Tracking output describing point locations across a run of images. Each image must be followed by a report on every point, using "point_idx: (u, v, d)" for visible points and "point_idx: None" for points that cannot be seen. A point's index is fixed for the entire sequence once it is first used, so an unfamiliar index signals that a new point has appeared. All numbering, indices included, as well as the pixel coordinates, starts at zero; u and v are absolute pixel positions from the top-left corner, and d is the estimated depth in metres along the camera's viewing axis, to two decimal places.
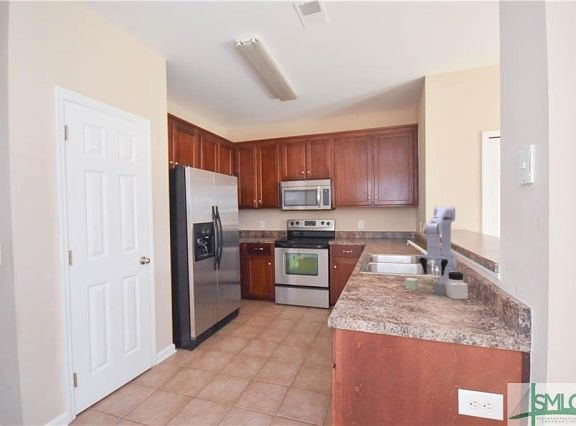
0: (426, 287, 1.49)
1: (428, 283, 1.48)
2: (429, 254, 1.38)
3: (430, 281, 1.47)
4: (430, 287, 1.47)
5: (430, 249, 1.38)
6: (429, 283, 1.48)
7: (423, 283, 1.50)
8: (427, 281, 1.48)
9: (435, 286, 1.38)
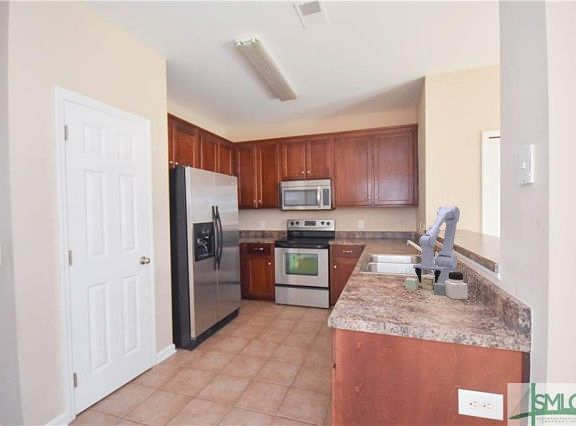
0: (426, 287, 1.49)
1: (428, 283, 1.48)
2: (423, 264, 1.49)
3: (430, 281, 1.47)
4: (430, 287, 1.47)
5: (424, 260, 1.49)
6: (429, 283, 1.48)
7: (423, 283, 1.50)
8: (427, 281, 1.48)
9: (435, 286, 1.38)
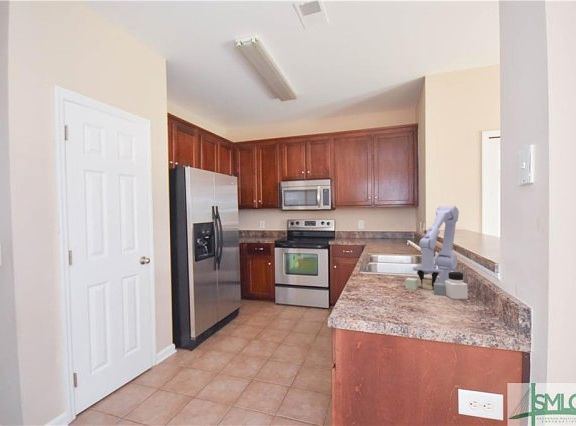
0: (426, 287, 1.49)
1: (428, 283, 1.48)
2: (423, 267, 1.49)
3: (430, 281, 1.47)
4: (430, 287, 1.47)
5: (424, 262, 1.49)
6: (429, 283, 1.48)
7: (423, 283, 1.50)
8: (427, 281, 1.48)
9: (435, 286, 1.38)
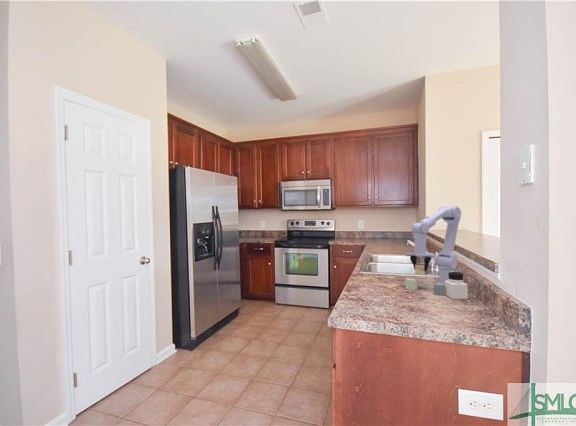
0: (419, 272, 1.49)
1: (421, 268, 1.48)
2: (416, 252, 1.49)
3: (422, 266, 1.47)
4: (422, 272, 1.47)
5: (417, 247, 1.49)
6: (421, 268, 1.48)
7: (416, 268, 1.50)
8: (420, 266, 1.48)
9: (435, 286, 1.38)
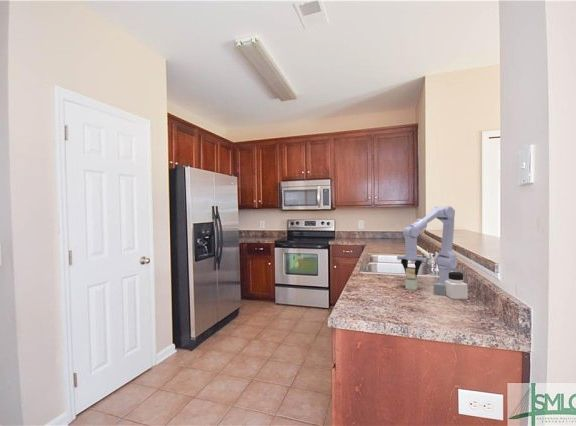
0: (409, 276, 1.49)
1: (411, 272, 1.48)
2: (407, 255, 1.50)
3: (413, 270, 1.48)
4: (413, 276, 1.48)
5: (408, 251, 1.49)
6: (412, 272, 1.48)
7: (406, 272, 1.50)
8: (410, 270, 1.49)
9: (435, 286, 1.38)
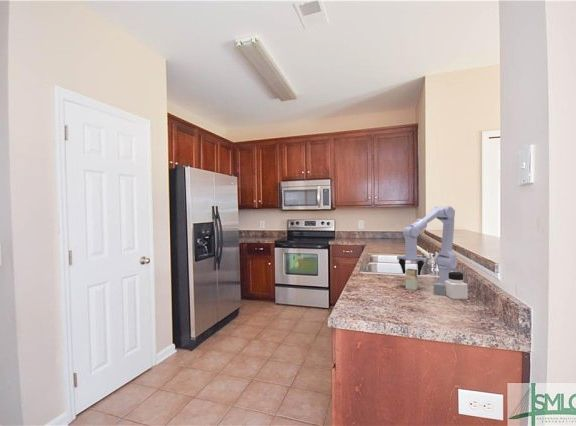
0: (409, 278, 1.49)
1: (411, 273, 1.48)
2: (407, 255, 1.50)
3: (413, 271, 1.48)
4: (413, 277, 1.48)
5: (408, 251, 1.49)
6: (412, 273, 1.48)
7: (406, 274, 1.50)
8: (410, 272, 1.49)
9: (435, 286, 1.38)
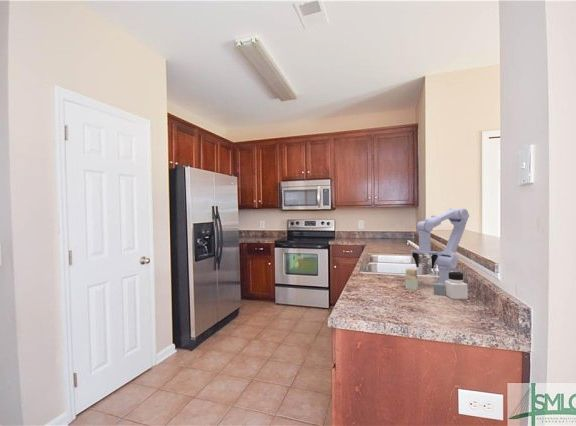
0: (409, 278, 1.49)
1: (411, 274, 1.48)
2: (421, 249, 1.53)
3: (413, 271, 1.48)
4: (413, 277, 1.48)
5: (421, 245, 1.52)
6: (412, 273, 1.48)
7: (407, 274, 1.50)
8: (410, 272, 1.49)
9: (435, 286, 1.38)
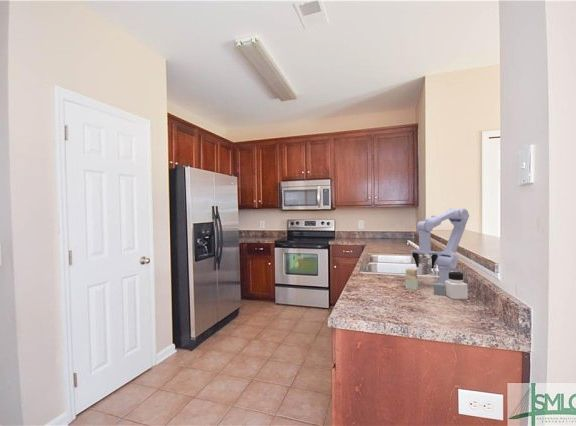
0: (409, 278, 1.49)
1: (411, 273, 1.48)
2: (421, 249, 1.53)
3: (413, 271, 1.48)
4: (413, 277, 1.48)
5: (421, 244, 1.52)
6: (412, 273, 1.48)
7: (406, 274, 1.50)
8: (410, 272, 1.49)
9: (435, 286, 1.38)
